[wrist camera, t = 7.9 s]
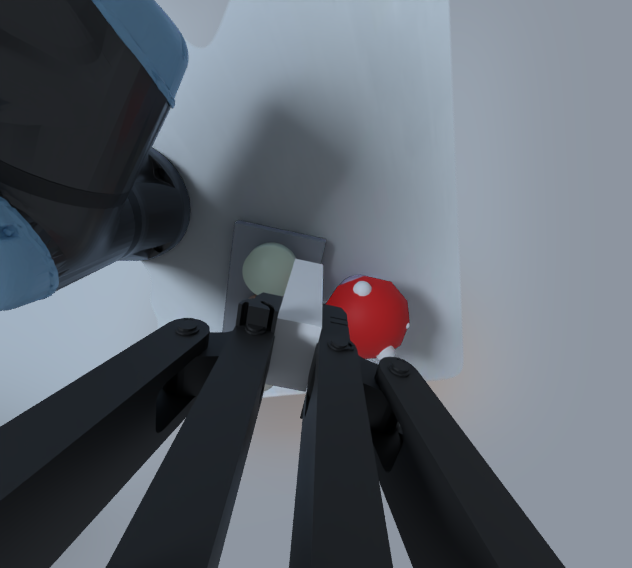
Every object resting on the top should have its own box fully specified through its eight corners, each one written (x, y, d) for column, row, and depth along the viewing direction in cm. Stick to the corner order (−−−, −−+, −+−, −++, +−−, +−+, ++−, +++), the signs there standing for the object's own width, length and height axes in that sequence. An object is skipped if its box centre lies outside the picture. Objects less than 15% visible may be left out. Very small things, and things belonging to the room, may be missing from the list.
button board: (222, 359, 50) (216, 371, 48) (238, 220, 42) (232, 224, 39) (294, 373, 51) (293, 385, 48) (325, 239, 42) (325, 244, 40)
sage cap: (243, 286, 40) (239, 292, 38) (250, 237, 38) (245, 241, 36) (293, 296, 41) (291, 303, 39) (303, 248, 38) (301, 253, 36)
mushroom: (310, 276, 45) (306, 315, 33) (383, 247, 43) (404, 278, 32) (338, 336, 48) (342, 389, 37) (407, 311, 46) (432, 359, 35)
